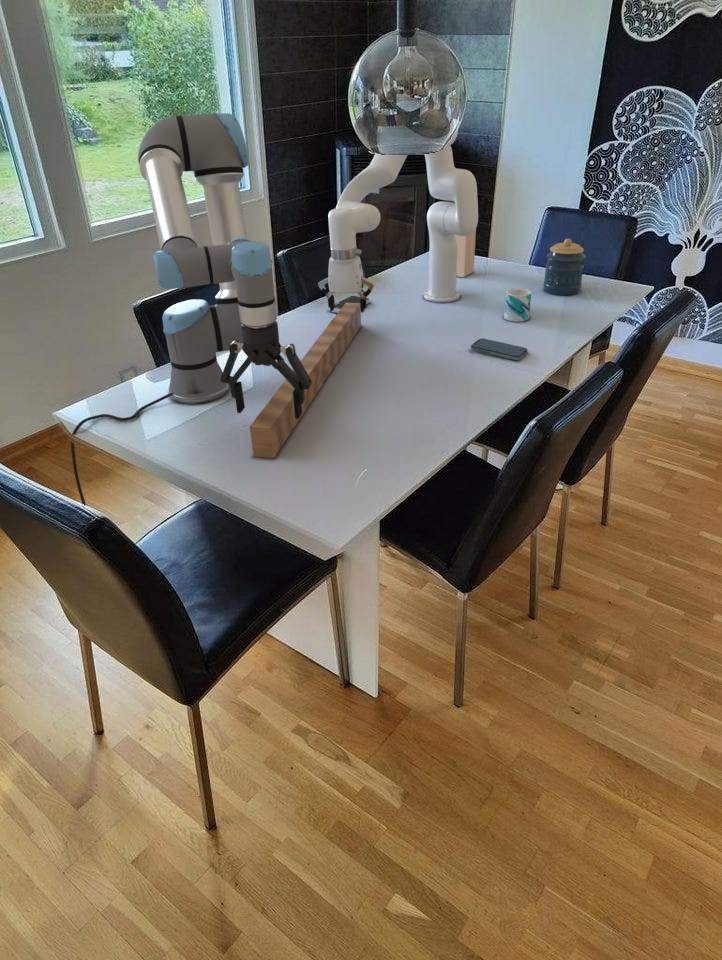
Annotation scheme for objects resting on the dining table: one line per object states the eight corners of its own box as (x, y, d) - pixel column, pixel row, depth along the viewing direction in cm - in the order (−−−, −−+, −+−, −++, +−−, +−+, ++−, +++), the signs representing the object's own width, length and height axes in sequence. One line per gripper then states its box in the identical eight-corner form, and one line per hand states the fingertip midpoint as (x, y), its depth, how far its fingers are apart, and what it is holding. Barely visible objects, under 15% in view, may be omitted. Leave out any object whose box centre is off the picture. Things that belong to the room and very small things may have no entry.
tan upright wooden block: (464, 277, 255) (467, 216, 243) (444, 274, 259) (446, 214, 248) (478, 268, 264) (481, 209, 252) (458, 266, 268) (461, 208, 256)
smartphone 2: (518, 357, 186) (469, 345, 193) (518, 362, 187) (469, 351, 194) (528, 347, 191) (480, 337, 198) (528, 353, 192) (480, 342, 199)
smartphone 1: (370, 298, 234) (345, 310, 224) (370, 302, 235) (345, 314, 224) (352, 295, 238) (327, 307, 227) (352, 299, 238) (327, 311, 228)
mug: (499, 319, 216) (501, 293, 211) (513, 308, 224) (516, 283, 220) (524, 323, 212) (526, 296, 207) (537, 311, 220) (540, 286, 216)
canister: (554, 297, 232) (561, 245, 222) (536, 286, 243) (541, 236, 233) (587, 292, 235) (595, 240, 225) (568, 282, 245) (574, 232, 236)
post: (273, 458, 147) (270, 428, 143) (253, 456, 148) (249, 426, 144) (361, 326, 215) (360, 303, 211) (346, 325, 216) (345, 302, 212)
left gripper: (322, 318, 138) (327, 409, 150) (210, 312, 143) (224, 400, 155) (311, 332, 132) (318, 426, 144) (195, 325, 137) (211, 416, 149)
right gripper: (375, 250, 197) (377, 306, 207) (319, 249, 201) (324, 305, 211) (369, 257, 191) (372, 315, 201) (312, 257, 195) (317, 313, 205)
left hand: (269, 413), depth 150 cm, fingers open, 13 cm apart
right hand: (347, 310), depth 206 cm, fingers open, 9 cm apart
